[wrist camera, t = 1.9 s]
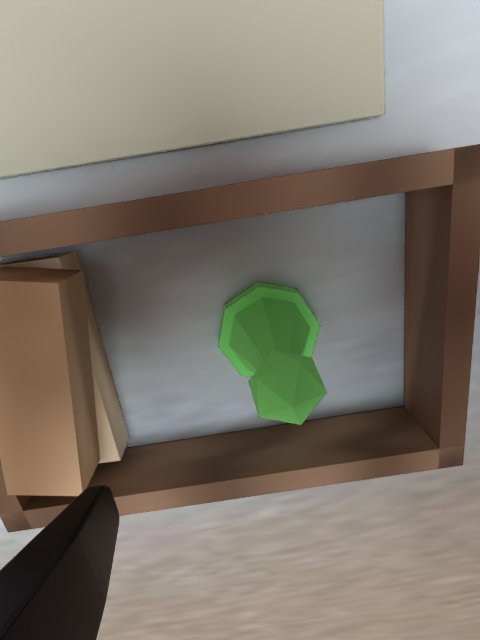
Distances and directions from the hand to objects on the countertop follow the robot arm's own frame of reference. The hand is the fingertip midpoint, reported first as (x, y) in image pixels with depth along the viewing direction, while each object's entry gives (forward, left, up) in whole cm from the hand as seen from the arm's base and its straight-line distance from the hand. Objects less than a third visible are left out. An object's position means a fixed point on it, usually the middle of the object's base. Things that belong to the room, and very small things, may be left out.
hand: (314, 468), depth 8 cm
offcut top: (+9, 0, -7) cm, 11 cm away
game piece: (0, 0, -9) cm, 9 cm away
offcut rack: (+3, 0, -8) cm, 9 cm away
